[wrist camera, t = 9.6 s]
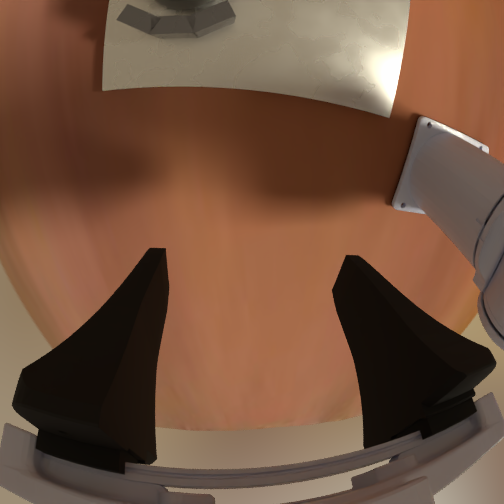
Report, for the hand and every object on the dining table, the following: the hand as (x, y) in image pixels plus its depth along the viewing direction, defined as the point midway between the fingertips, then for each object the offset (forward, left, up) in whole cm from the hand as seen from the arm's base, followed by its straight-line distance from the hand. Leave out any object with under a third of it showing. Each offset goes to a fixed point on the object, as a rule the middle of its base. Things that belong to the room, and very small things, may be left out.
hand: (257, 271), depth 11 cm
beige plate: (0, -13, -9) cm, 16 cm away
